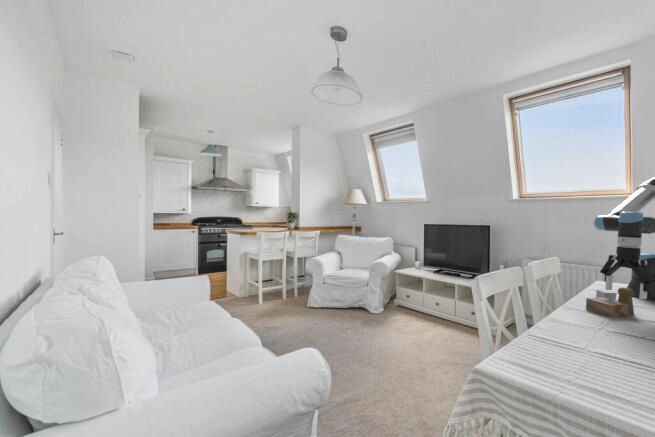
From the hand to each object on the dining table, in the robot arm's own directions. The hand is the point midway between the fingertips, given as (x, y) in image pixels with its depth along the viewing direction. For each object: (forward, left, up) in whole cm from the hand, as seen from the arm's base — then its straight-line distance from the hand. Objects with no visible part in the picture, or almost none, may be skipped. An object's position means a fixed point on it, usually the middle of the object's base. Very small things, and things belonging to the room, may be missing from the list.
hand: (624, 294), depth 134 cm
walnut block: (+8, -1, -8) cm, 11 cm away
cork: (0, 0, -9) cm, 9 cm away
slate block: (-5, -12, -8) cm, 16 cm away
